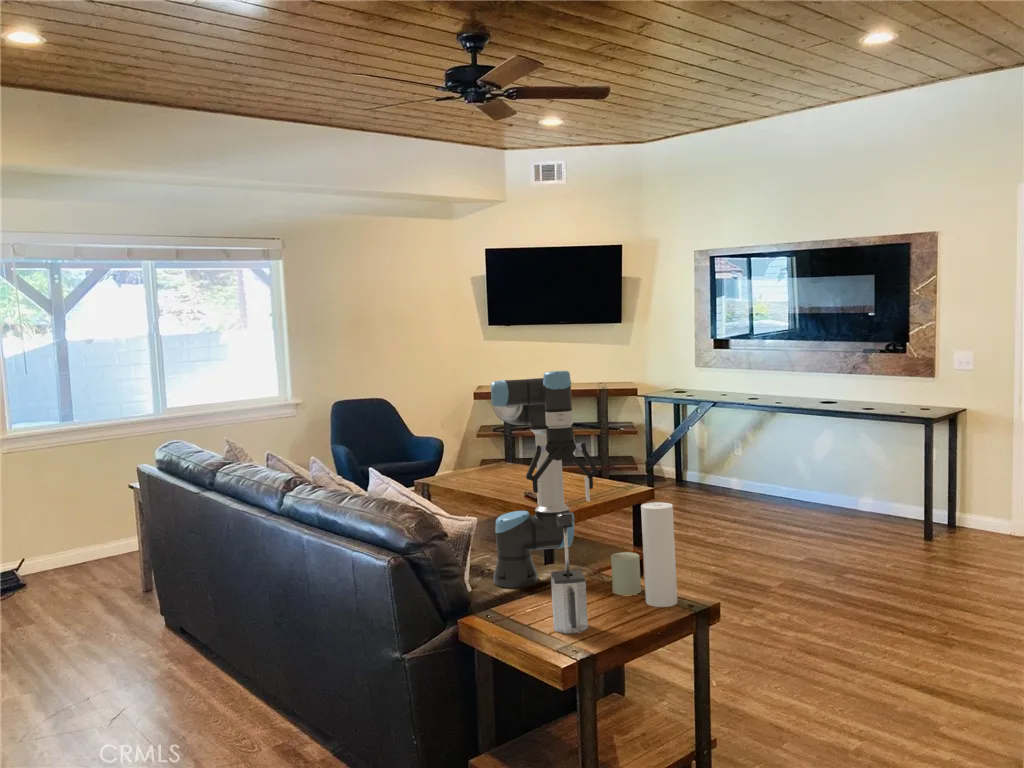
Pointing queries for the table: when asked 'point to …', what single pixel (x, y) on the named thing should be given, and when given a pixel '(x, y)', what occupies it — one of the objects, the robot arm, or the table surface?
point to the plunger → (565, 534)
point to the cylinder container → (659, 554)
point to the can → (626, 573)
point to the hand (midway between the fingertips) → (563, 502)
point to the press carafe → (569, 602)
